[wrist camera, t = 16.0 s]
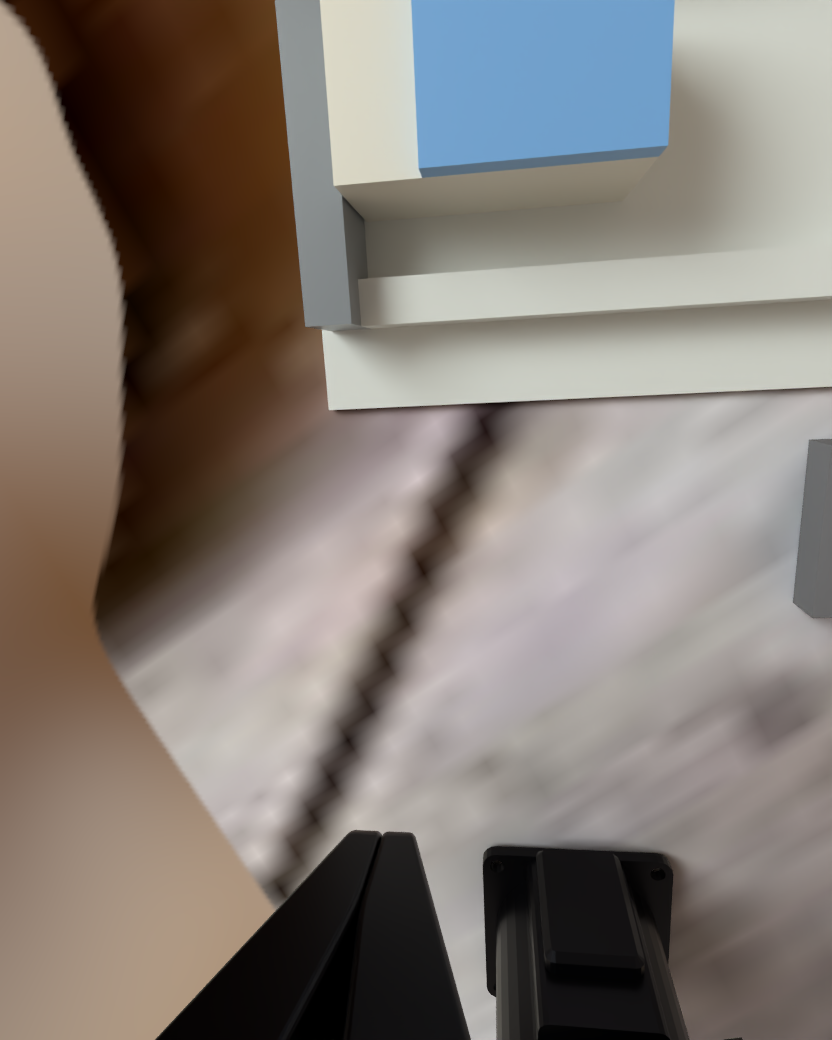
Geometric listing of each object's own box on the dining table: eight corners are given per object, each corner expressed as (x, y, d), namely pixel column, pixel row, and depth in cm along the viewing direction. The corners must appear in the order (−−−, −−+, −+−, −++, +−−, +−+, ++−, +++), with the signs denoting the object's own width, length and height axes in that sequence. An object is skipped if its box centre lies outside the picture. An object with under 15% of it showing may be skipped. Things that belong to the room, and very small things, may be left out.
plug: (622, 201, 17) (668, 145, 12) (366, 221, 18) (325, 177, 13) (627, 27, 16) (678, -99, 11) (356, 59, 17) (308, -47, 12)
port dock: (1012, 377, 17) (1119, 380, 14) (331, 409, 19) (303, 418, 16) (1128, -285, 13) (1302, -461, 11) (283, -144, 16) (237, -255, 13)
